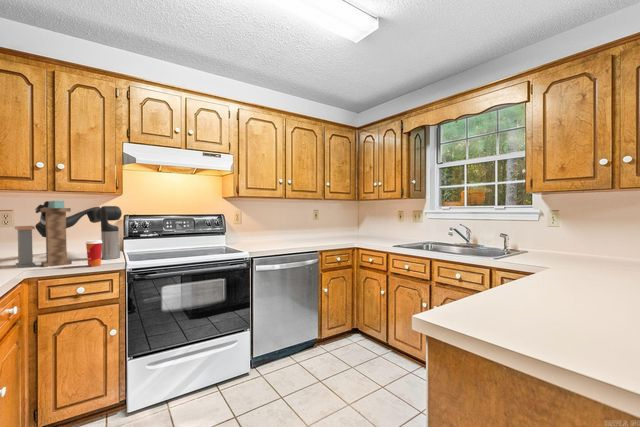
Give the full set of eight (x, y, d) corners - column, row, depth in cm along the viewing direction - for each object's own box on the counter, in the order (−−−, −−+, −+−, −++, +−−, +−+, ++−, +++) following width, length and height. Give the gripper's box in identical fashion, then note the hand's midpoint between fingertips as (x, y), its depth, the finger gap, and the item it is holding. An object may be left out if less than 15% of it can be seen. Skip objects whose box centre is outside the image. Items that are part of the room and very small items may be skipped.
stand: (68, 262, 185) (67, 208, 184) (71, 264, 180) (70, 208, 179) (41, 265, 176) (40, 208, 175) (43, 267, 171) (42, 208, 170)
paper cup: (88, 265, 176) (87, 240, 176) (104, 264, 179) (104, 239, 178) (83, 267, 169) (83, 241, 168) (100, 266, 171) (100, 240, 171)
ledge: (32, 263, 182) (31, 225, 182) (35, 266, 174) (34, 226, 174) (15, 265, 177) (14, 226, 176) (18, 267, 169) (17, 227, 168)
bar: (55, 208, 187) (55, 201, 187) (64, 208, 171) (64, 200, 171) (46, 208, 184) (46, 201, 184) (54, 208, 168) (54, 200, 168)
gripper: (32, 211, 188) (35, 196, 178) (62, 211, 199) (67, 197, 189) (33, 222, 186) (37, 208, 176) (64, 221, 196) (69, 207, 186)
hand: (52, 202), depth 182 cm, fingers open, 4 cm apart
